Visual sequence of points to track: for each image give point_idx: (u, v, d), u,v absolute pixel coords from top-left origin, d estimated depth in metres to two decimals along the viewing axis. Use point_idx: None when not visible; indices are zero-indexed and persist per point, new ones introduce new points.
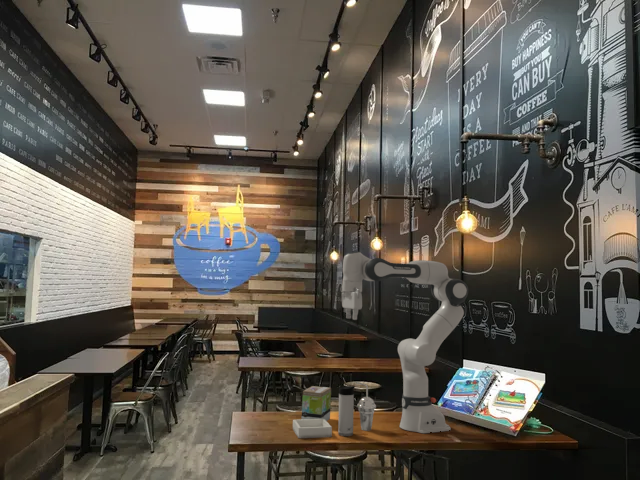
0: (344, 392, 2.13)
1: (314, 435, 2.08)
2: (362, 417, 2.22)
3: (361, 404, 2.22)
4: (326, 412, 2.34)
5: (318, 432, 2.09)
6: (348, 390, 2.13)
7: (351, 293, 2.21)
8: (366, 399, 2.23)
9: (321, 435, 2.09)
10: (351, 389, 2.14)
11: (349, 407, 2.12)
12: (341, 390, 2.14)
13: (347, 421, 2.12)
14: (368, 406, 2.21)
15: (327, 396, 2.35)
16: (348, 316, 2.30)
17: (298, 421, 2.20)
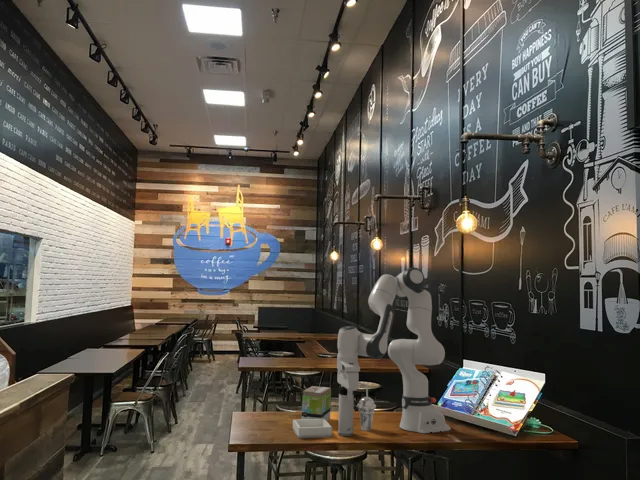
0: (344, 392, 2.13)
1: (314, 435, 2.08)
2: (362, 417, 2.22)
3: (361, 404, 2.22)
4: (326, 412, 2.34)
5: (318, 432, 2.09)
6: None
7: None
8: (366, 399, 2.23)
9: (321, 435, 2.09)
10: None
11: (349, 407, 2.12)
12: (341, 390, 2.14)
13: (347, 421, 2.12)
14: (368, 406, 2.21)
15: (327, 396, 2.35)
16: None
17: (298, 421, 2.20)
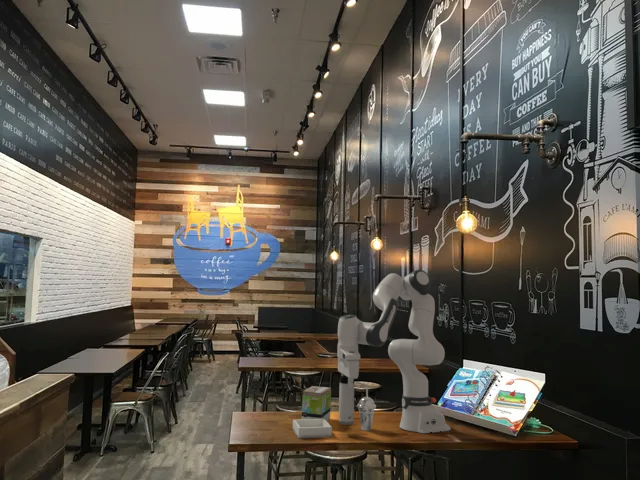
0: (345, 381, 2.14)
1: (314, 435, 2.08)
2: (362, 417, 2.22)
3: (361, 404, 2.22)
4: (326, 412, 2.34)
5: (318, 432, 2.09)
6: None
7: None
8: (366, 399, 2.23)
9: (321, 435, 2.09)
10: None
11: (349, 396, 2.13)
12: (342, 379, 2.15)
13: (348, 409, 2.12)
14: (368, 406, 2.21)
15: (327, 396, 2.35)
16: None
17: (298, 421, 2.20)
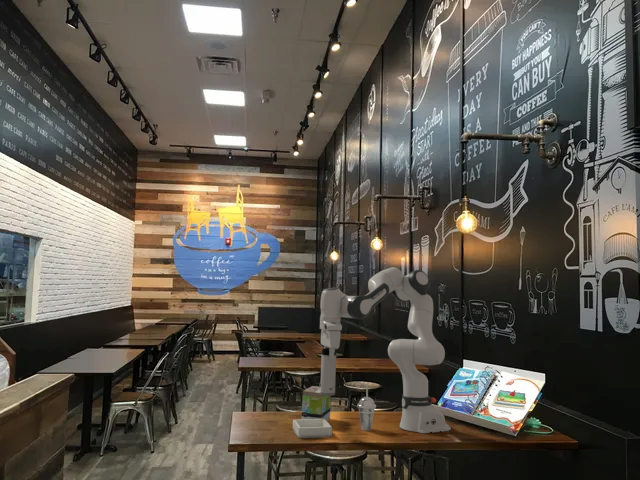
0: (327, 352, 2.15)
1: (314, 435, 2.08)
2: (362, 417, 2.22)
3: (361, 404, 2.22)
4: (326, 412, 2.34)
5: (318, 432, 2.09)
6: None
7: None
8: (366, 399, 2.23)
9: (321, 435, 2.09)
10: None
11: (331, 367, 2.15)
12: (323, 350, 2.16)
13: (329, 380, 2.14)
14: (368, 406, 2.21)
15: (327, 396, 2.35)
16: None
17: (298, 421, 2.20)
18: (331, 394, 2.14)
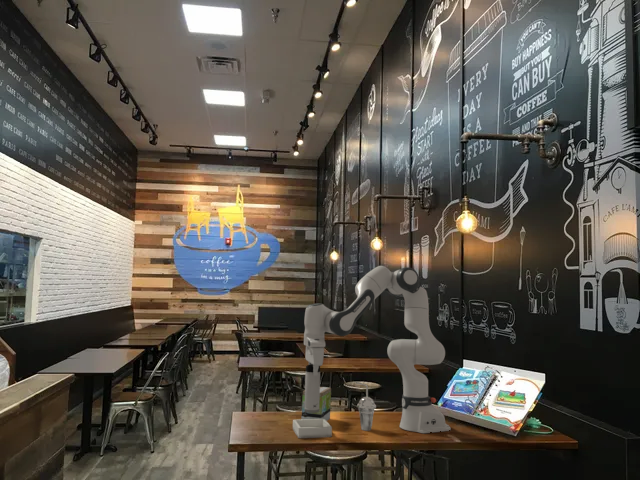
0: (310, 369, 2.15)
1: (314, 435, 2.08)
2: (362, 417, 2.22)
3: (361, 404, 2.22)
4: (326, 412, 2.34)
5: (318, 432, 2.09)
6: None
7: None
8: (366, 399, 2.23)
9: (321, 435, 2.09)
10: None
11: (315, 384, 2.14)
12: (307, 367, 2.16)
13: (313, 397, 2.14)
14: (368, 406, 2.21)
15: (327, 396, 2.35)
16: None
17: (298, 421, 2.20)
18: (315, 411, 2.13)
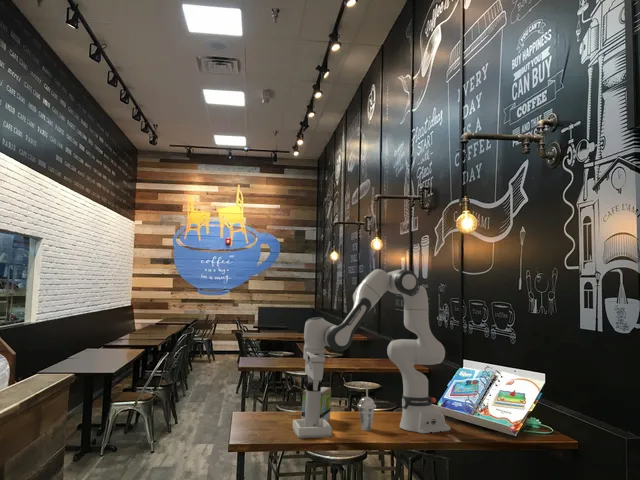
0: (311, 388, 2.14)
1: (314, 435, 2.08)
2: (362, 417, 2.22)
3: (361, 404, 2.22)
4: (326, 412, 2.34)
5: (318, 432, 2.09)
6: None
7: None
8: (366, 399, 2.23)
9: (321, 435, 2.09)
10: (318, 385, 2.15)
11: (315, 403, 2.14)
12: (308, 386, 2.15)
13: (313, 416, 2.13)
14: (368, 406, 2.21)
15: (327, 396, 2.35)
16: None
17: (298, 421, 2.20)
18: None
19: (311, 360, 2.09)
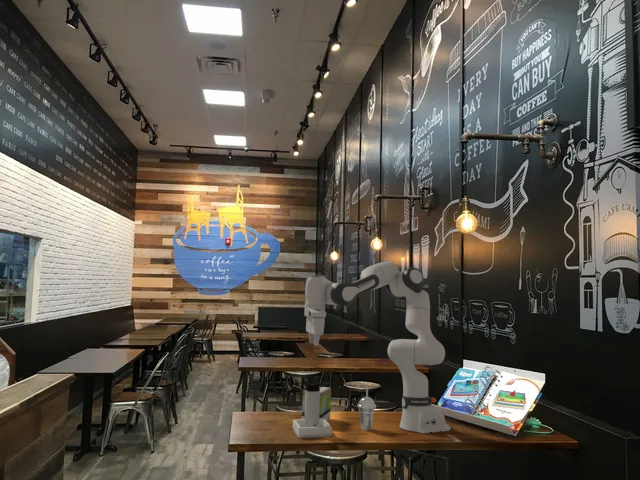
0: (310, 388, 2.14)
1: (314, 435, 2.08)
2: (362, 417, 2.22)
3: (361, 404, 2.22)
4: (326, 412, 2.34)
5: (318, 432, 2.09)
6: (314, 386, 2.14)
7: None
8: (366, 399, 2.23)
9: (321, 435, 2.09)
10: (317, 385, 2.15)
11: (314, 404, 2.13)
12: (307, 386, 2.15)
13: (312, 417, 2.13)
14: (368, 406, 2.21)
15: (327, 396, 2.35)
16: None
17: (298, 421, 2.20)
18: None
19: (312, 315, 2.11)
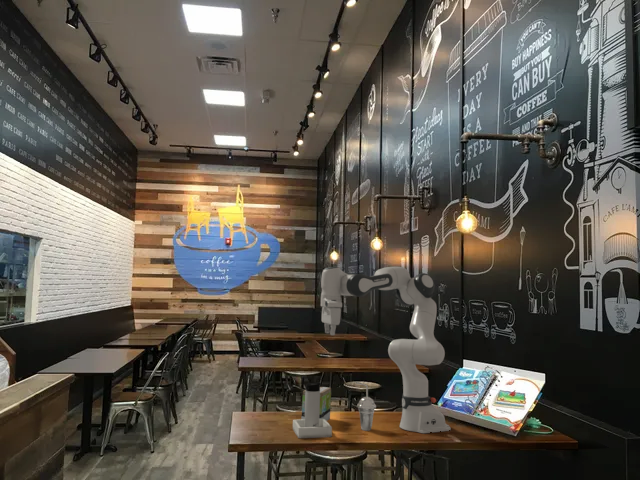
0: (310, 388, 2.14)
1: (314, 435, 2.08)
2: (362, 417, 2.22)
3: (361, 404, 2.22)
4: (326, 412, 2.34)
5: (318, 432, 2.09)
6: (314, 386, 2.14)
7: None
8: (366, 399, 2.23)
9: (321, 435, 2.09)
10: (317, 385, 2.15)
11: (314, 404, 2.13)
12: (307, 386, 2.15)
13: (313, 417, 2.13)
14: (368, 406, 2.21)
15: (327, 396, 2.35)
16: None
17: (298, 421, 2.20)
18: None
19: (329, 305, 2.17)
